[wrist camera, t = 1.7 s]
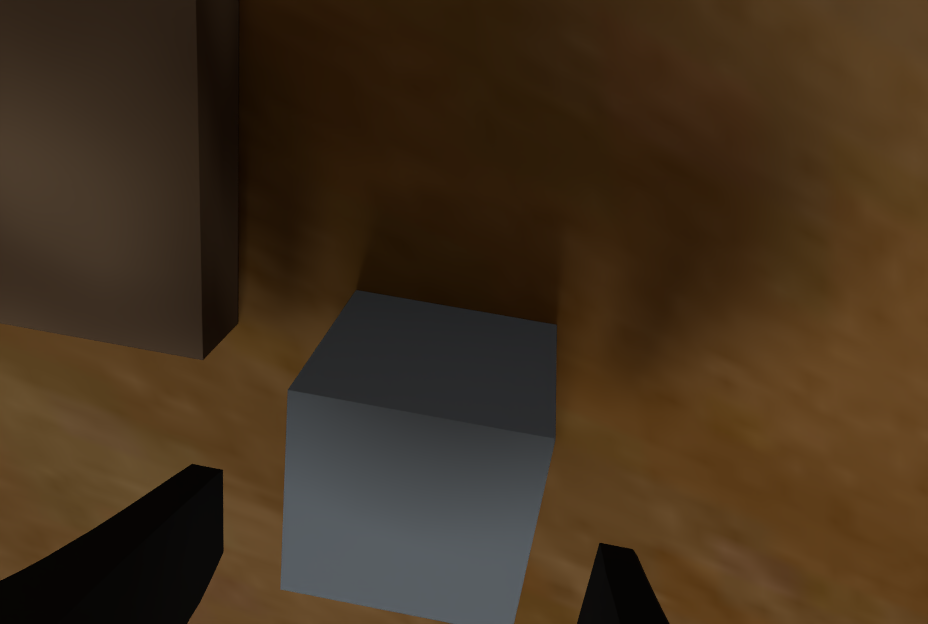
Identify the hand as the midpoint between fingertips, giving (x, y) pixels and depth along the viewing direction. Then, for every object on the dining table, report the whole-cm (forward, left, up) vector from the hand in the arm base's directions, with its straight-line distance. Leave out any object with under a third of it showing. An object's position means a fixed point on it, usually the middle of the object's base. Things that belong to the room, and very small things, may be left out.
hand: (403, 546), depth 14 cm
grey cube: (0, 0, -6) cm, 6 cm away
